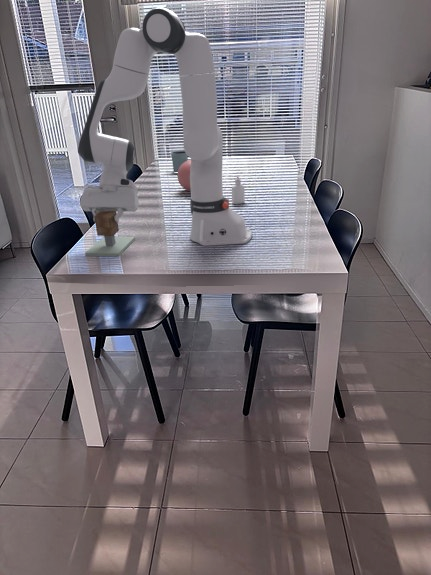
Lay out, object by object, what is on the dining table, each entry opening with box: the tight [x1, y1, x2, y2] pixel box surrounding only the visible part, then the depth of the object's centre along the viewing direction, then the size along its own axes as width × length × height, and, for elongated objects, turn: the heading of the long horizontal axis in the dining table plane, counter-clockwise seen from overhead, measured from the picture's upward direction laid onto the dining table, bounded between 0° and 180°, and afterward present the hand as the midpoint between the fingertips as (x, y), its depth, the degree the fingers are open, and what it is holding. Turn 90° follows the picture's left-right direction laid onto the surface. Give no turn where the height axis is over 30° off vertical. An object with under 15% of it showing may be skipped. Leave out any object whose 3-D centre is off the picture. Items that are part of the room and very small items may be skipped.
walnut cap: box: [93, 211, 120, 237], centre depth 147 cm, size 6×6×7 cm
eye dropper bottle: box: [231, 175, 246, 205], centre depth 191 cm, size 4×6×12 cm
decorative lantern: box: [177, 159, 191, 192], centre depth 212 cm, size 15×20×15 cm
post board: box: [84, 235, 136, 257], centre depth 149 cm, size 12×16×6 cm
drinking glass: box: [170, 150, 189, 173], centre depth 260 cm, size 10×10×12 cm
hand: (105, 221), depth 146 cm, fingers closed on walnut cap, 6 cm apart
